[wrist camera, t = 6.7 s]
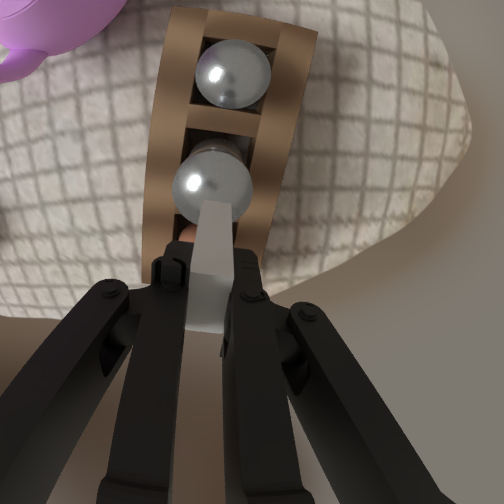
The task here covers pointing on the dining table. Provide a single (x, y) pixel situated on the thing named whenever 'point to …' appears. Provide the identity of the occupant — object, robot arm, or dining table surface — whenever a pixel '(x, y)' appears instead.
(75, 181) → the dining table surface
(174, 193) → the grey plug mid
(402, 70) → the dining table surface
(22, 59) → the teapot
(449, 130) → the dining table surface
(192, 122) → the wooden compartment tray
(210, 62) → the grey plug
